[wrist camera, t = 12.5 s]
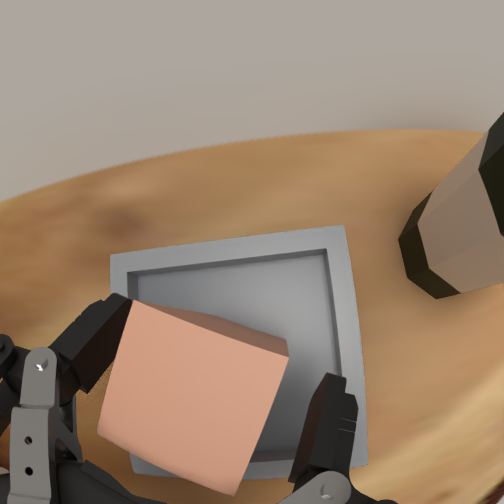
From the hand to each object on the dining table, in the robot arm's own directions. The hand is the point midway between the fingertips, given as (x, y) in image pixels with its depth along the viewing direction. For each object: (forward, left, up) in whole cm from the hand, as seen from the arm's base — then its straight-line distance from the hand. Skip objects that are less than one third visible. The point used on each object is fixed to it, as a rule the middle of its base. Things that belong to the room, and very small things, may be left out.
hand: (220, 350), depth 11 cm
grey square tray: (-1, -1, -12) cm, 12 cm away
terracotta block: (-1, -1, -7) cm, 7 cm away
